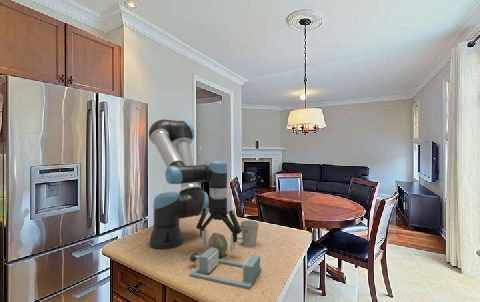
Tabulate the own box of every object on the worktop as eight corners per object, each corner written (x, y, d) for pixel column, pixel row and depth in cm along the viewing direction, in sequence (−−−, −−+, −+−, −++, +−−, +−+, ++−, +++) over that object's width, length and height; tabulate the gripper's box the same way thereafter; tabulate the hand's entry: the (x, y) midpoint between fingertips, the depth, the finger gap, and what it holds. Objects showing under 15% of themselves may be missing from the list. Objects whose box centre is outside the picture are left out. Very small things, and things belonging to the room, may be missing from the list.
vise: (189, 276, 86) (189, 259, 86) (208, 259, 99) (208, 244, 99) (249, 289, 78) (250, 270, 78) (261, 269, 91) (261, 253, 91)
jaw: (185, 269, 90) (185, 253, 90) (198, 259, 98) (198, 245, 98) (208, 274, 86) (208, 258, 86) (218, 263, 95) (219, 248, 95)
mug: (257, 248, 110) (257, 226, 110) (230, 245, 113) (230, 224, 113) (259, 241, 119) (259, 220, 119) (234, 239, 121) (234, 219, 121)
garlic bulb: (221, 264, 100) (221, 244, 96) (203, 257, 103) (203, 238, 99) (231, 249, 108) (231, 230, 105) (214, 243, 111) (214, 225, 108)
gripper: (188, 197, 105) (188, 246, 105) (242, 201, 96) (242, 255, 96) (197, 194, 112) (197, 240, 112) (248, 197, 103) (248, 248, 103)
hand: (218, 247), depth 104 cm, fingers open, 13 cm apart
